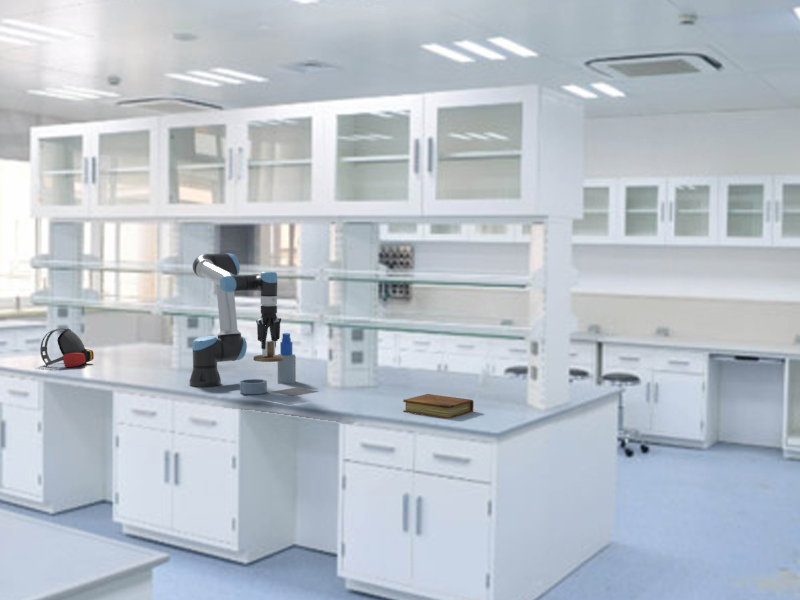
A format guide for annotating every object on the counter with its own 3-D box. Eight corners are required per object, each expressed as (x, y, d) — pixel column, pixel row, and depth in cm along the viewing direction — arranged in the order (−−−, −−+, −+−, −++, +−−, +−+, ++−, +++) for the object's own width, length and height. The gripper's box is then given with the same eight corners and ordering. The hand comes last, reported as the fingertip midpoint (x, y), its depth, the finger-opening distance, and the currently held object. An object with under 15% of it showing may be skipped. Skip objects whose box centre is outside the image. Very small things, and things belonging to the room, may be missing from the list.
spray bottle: (278, 382, 457) (278, 332, 455) (296, 382, 457) (296, 332, 455) (276, 385, 448) (276, 334, 446) (294, 385, 448) (294, 334, 446)
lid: (247, 359, 422) (247, 341, 421) (270, 356, 432) (270, 339, 432) (267, 362, 413) (267, 344, 412) (290, 359, 423) (290, 342, 423)
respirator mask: (84, 363, 497) (64, 322, 496) (46, 382, 499) (25, 341, 498) (99, 358, 519) (80, 318, 518) (63, 376, 521) (43, 336, 520)
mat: (270, 393, 425) (270, 391, 425) (296, 389, 436) (296, 387, 436) (293, 397, 414) (293, 395, 414) (319, 393, 425) (319, 391, 425)
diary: (473, 413, 384) (473, 399, 384) (448, 420, 369) (449, 406, 369) (428, 406, 398) (428, 393, 397) (403, 412, 383) (403, 399, 382)
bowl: (234, 394, 422) (234, 381, 421) (255, 390, 431) (255, 378, 430) (251, 397, 414) (250, 384, 413) (271, 394, 423) (271, 381, 422)
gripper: (259, 306, 412) (259, 358, 414) (288, 304, 424) (287, 354, 426) (249, 305, 416) (249, 356, 419) (277, 303, 429) (277, 352, 431)
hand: (268, 355), depth 422 cm, fingers closed on lid, 4 cm apart
